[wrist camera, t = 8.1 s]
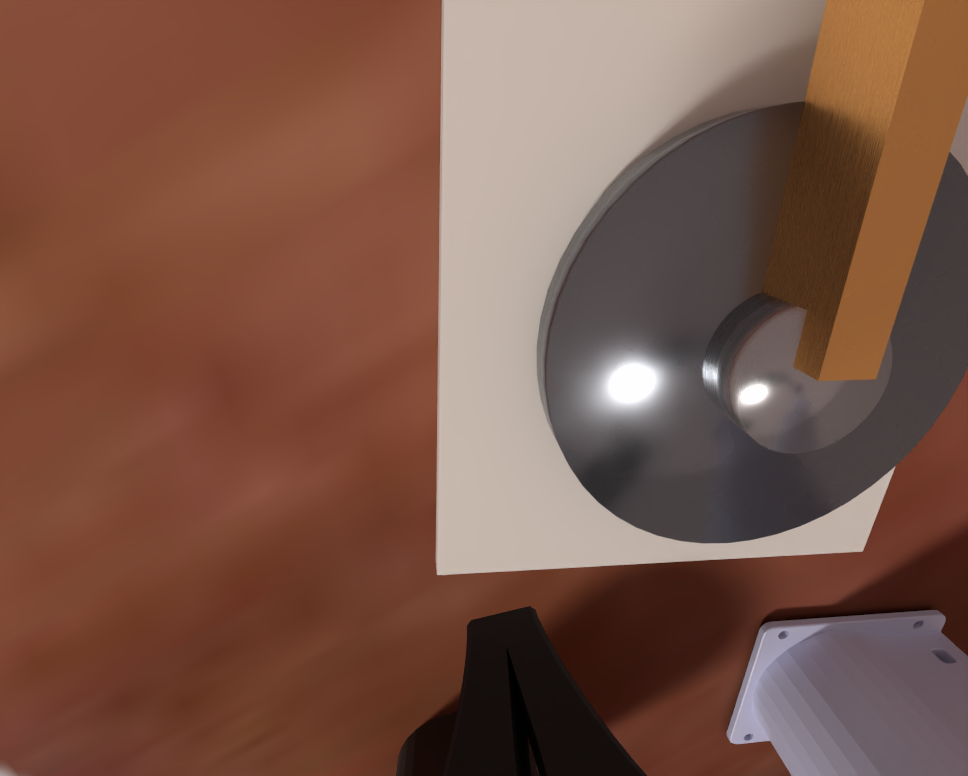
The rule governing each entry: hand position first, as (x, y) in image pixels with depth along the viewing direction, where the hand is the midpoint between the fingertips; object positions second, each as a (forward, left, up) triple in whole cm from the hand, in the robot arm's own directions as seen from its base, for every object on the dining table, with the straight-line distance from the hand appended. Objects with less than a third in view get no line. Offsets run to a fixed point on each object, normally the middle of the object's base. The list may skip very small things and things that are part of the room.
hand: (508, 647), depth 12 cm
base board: (-8, -4, -9) cm, 13 cm away
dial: (-9, -6, -8) cm, 13 cm away
